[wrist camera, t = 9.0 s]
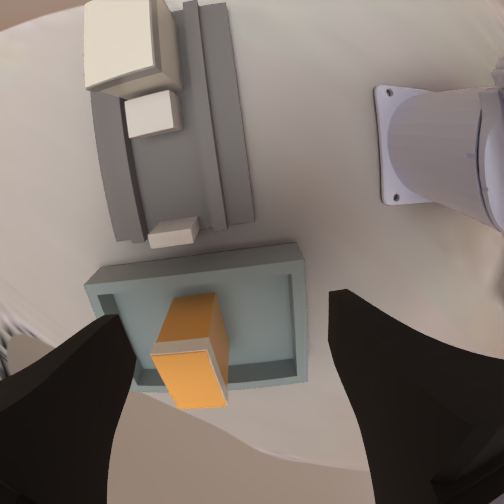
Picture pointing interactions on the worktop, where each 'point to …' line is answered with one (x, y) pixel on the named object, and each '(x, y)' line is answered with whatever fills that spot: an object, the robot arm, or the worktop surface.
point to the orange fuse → (194, 352)
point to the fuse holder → (178, 143)
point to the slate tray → (231, 306)
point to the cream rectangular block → (131, 48)
